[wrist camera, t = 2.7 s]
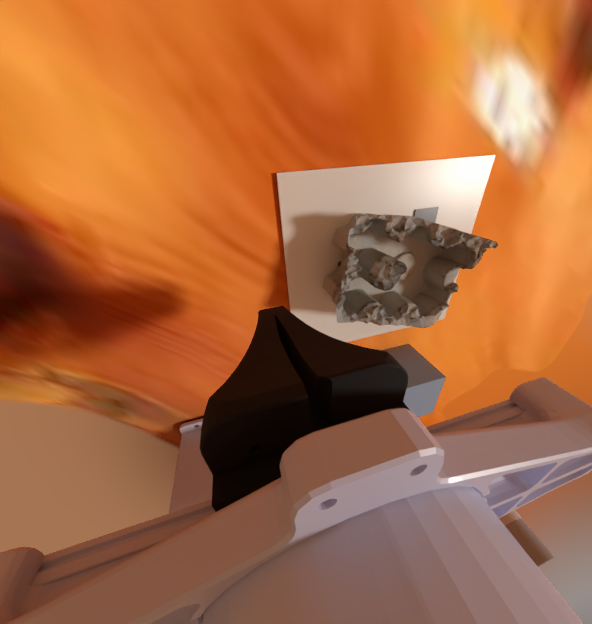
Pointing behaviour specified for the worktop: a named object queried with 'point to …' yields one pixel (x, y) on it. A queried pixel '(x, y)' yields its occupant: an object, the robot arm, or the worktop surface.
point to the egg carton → (399, 269)
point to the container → (527, 538)
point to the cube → (418, 380)
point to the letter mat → (364, 199)
